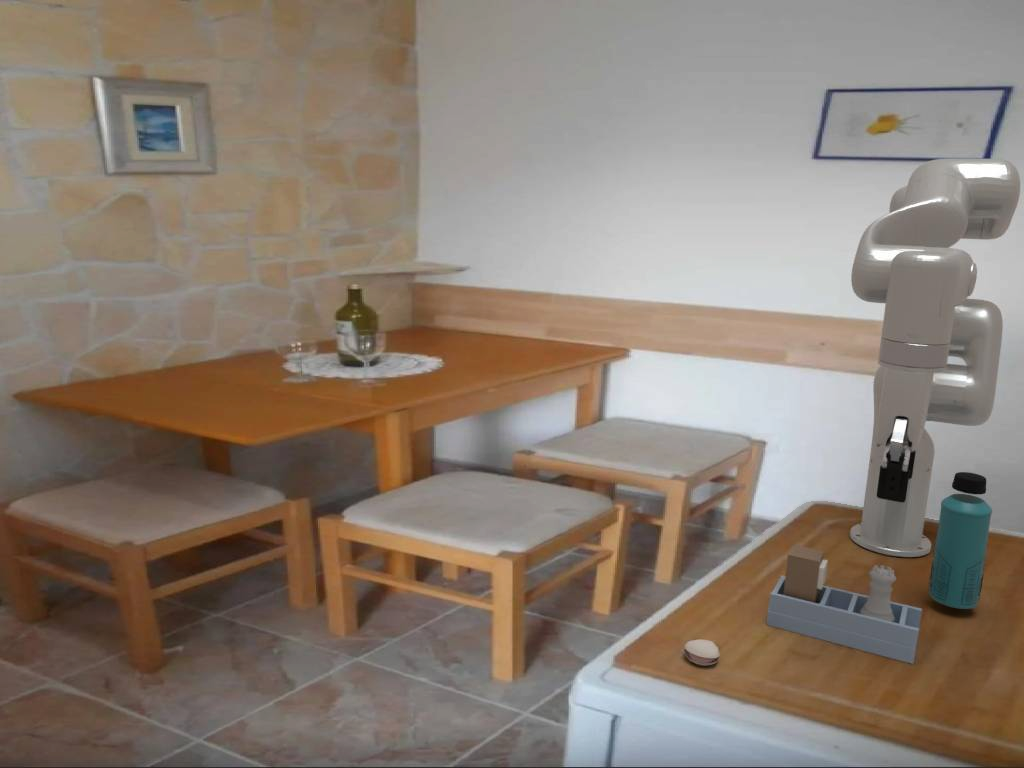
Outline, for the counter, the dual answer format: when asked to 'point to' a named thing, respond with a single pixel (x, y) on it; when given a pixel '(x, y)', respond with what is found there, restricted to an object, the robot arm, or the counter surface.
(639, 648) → the counter surface
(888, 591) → the rook chess piece
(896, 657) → the blue-grey divided tray
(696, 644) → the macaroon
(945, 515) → the beverage bottle
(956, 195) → the robot arm
